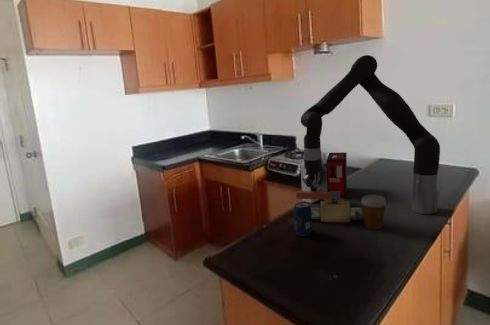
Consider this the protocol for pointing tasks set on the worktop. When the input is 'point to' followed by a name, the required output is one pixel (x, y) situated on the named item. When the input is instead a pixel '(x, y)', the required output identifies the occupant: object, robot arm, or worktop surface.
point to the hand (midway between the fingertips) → (314, 195)
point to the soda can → (302, 218)
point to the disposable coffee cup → (373, 211)
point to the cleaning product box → (337, 173)
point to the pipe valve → (336, 211)
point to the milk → (304, 186)
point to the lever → (318, 195)
